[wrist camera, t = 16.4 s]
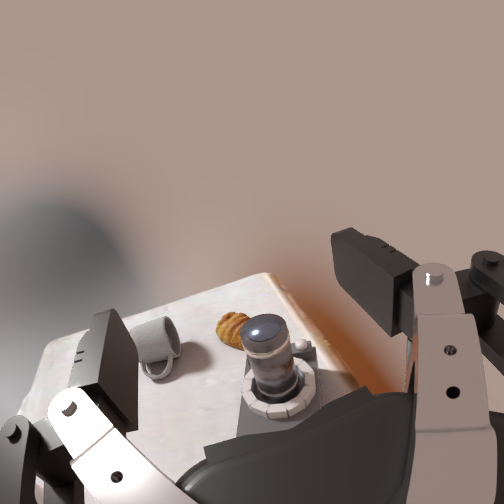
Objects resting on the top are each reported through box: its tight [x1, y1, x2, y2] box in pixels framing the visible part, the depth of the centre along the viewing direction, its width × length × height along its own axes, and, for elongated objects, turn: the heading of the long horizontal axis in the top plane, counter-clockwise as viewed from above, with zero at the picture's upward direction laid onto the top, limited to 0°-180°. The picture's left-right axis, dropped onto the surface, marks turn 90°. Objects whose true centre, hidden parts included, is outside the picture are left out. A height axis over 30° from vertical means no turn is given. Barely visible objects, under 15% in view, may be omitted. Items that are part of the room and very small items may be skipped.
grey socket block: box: [236, 339, 322, 437], centre depth 38 cm, size 10×14×7 cm
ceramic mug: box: [129, 316, 181, 380], centre depth 53 cm, size 11×8×8 cm
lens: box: [240, 314, 299, 404], centre depth 35 cm, size 5×5×11 cm
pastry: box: [216, 312, 251, 350], centre depth 55 cm, size 9×7×4 cm
